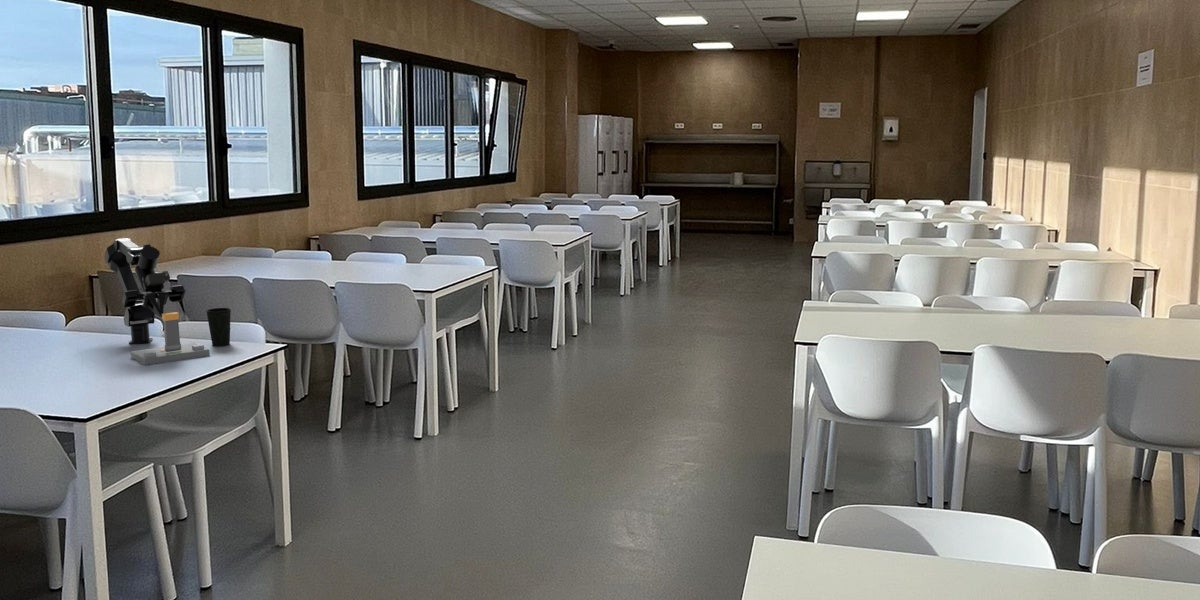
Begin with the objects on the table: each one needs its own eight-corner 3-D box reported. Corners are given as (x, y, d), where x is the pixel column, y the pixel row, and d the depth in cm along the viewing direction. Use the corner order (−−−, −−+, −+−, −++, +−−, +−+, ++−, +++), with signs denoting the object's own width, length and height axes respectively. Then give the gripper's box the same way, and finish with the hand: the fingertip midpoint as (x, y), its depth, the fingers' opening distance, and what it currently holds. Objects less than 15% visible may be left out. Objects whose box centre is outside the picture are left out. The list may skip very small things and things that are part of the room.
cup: (204, 345, 349) (201, 310, 347) (221, 341, 356) (219, 307, 354) (220, 348, 345) (217, 312, 343) (238, 343, 352) (235, 308, 350)
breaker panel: (131, 357, 332) (130, 347, 331) (194, 348, 345) (193, 339, 344) (145, 365, 322) (144, 355, 321) (209, 355, 334) (209, 345, 334)
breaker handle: (164, 351, 330) (161, 313, 328) (179, 349, 333) (176, 312, 331) (167, 352, 328) (164, 314, 326) (181, 350, 331) (178, 313, 329)
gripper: (121, 266, 330) (135, 304, 324) (181, 260, 342) (195, 297, 336) (116, 287, 338) (129, 325, 331) (175, 281, 350) (189, 318, 343)
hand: (161, 316), depth 335 cm, fingers closed
